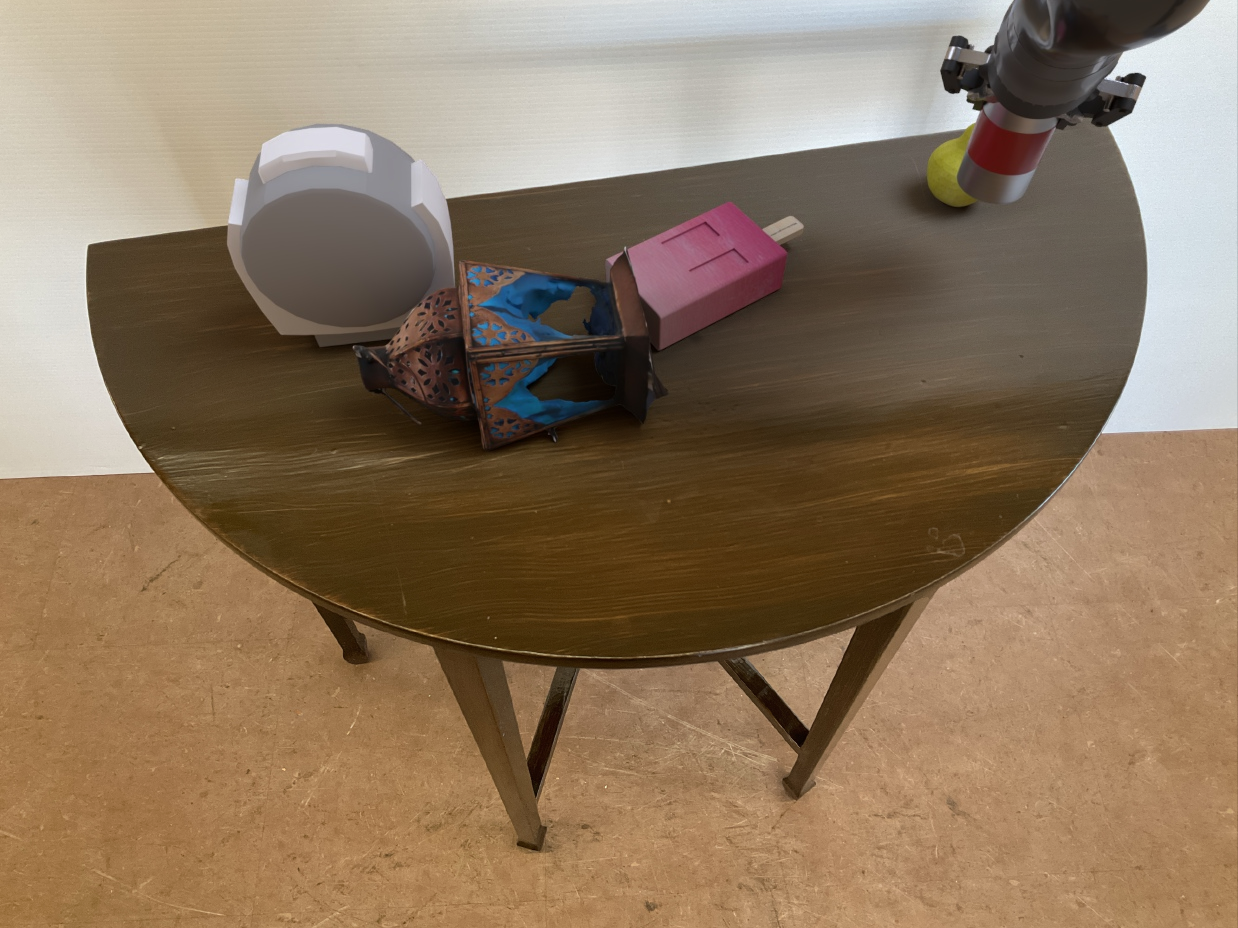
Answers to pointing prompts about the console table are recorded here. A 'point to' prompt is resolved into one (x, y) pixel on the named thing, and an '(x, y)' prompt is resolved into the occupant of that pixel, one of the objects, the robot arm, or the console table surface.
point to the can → (1003, 154)
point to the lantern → (514, 350)
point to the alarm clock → (339, 234)
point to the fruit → (949, 171)
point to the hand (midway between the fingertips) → (1021, 107)
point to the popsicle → (706, 270)
